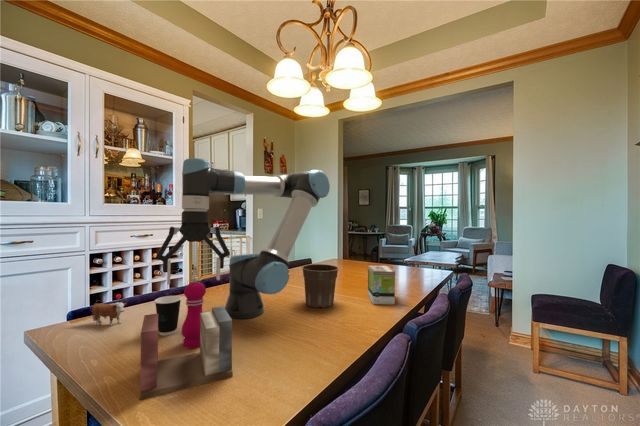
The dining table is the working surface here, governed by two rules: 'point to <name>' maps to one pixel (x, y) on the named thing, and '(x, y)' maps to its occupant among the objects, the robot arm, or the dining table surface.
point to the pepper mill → (193, 313)
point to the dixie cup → (168, 314)
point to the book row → (187, 356)
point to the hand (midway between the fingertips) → (194, 281)
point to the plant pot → (320, 284)
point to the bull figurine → (107, 312)
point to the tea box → (381, 284)
